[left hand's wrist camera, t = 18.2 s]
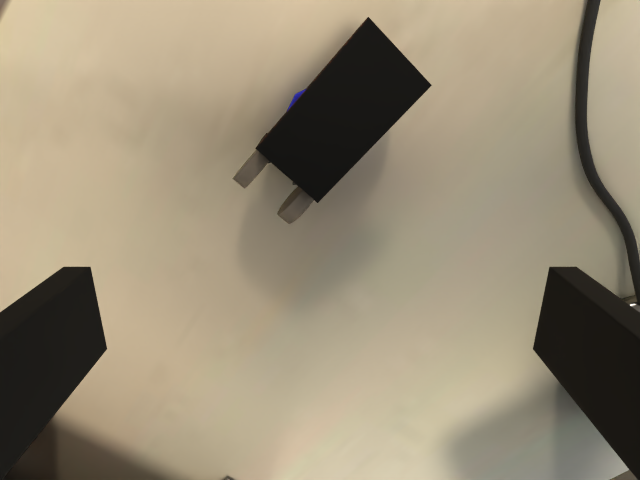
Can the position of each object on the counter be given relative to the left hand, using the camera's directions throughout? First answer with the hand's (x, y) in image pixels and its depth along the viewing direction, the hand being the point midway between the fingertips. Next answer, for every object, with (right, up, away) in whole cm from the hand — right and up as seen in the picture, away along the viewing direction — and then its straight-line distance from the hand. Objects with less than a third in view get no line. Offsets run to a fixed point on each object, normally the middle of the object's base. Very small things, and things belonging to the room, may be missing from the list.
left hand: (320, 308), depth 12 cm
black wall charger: (0, +12, +23) cm, 26 cm away
